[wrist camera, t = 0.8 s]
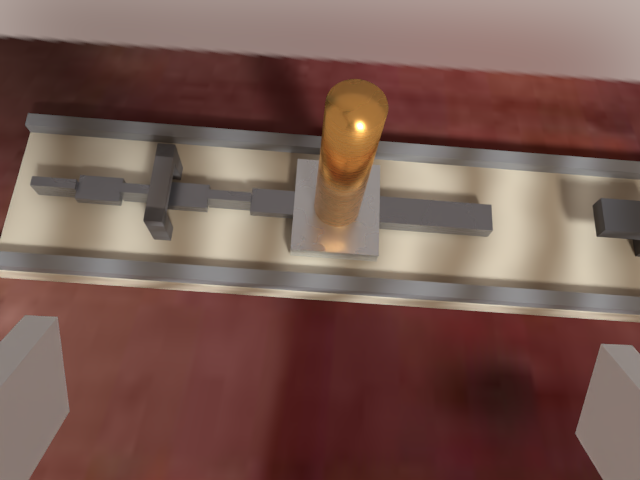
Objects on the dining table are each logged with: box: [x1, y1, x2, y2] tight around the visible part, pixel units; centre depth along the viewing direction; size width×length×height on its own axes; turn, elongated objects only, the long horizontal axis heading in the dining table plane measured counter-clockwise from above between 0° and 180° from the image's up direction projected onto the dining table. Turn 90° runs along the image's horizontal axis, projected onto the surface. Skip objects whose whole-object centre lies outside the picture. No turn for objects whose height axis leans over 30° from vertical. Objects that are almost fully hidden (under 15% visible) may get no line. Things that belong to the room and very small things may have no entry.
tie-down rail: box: [0, 113, 640, 322], centre depth 41 cm, size 49×12×5 cm, turn 87°
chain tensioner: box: [30, 79, 493, 262], centre depth 35 cm, size 32×7×13 cm, turn 87°
